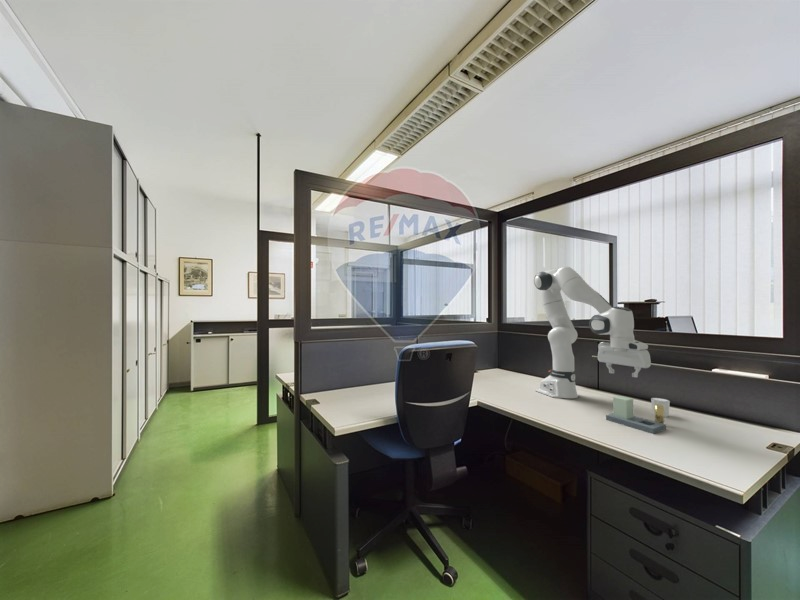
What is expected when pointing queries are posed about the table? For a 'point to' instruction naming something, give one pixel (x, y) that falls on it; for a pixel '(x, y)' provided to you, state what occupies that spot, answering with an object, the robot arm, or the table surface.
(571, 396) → the robot arm
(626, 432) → the table surface
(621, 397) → the block
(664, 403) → the shot glass
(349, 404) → the table surface
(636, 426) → the pin board
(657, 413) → the pin
